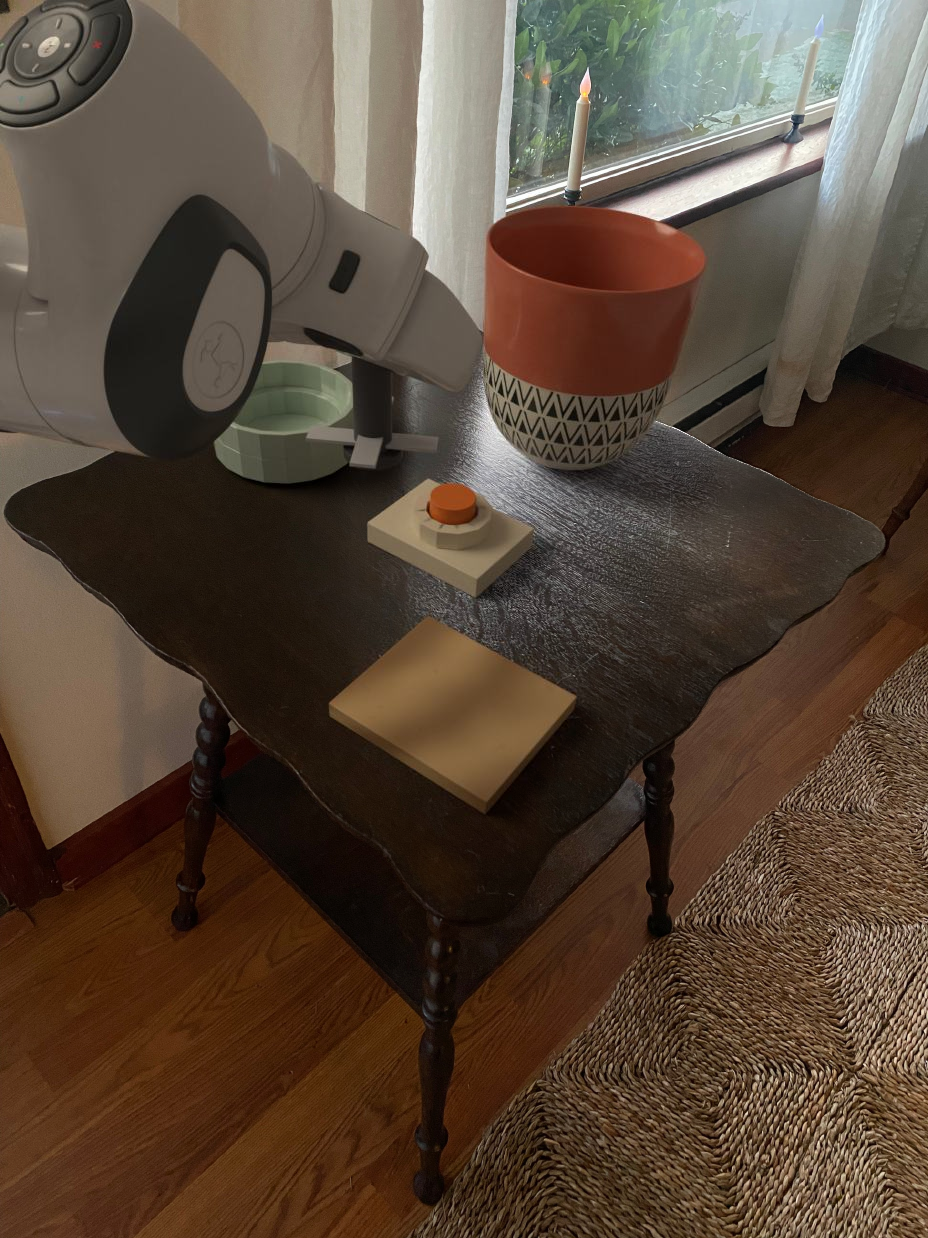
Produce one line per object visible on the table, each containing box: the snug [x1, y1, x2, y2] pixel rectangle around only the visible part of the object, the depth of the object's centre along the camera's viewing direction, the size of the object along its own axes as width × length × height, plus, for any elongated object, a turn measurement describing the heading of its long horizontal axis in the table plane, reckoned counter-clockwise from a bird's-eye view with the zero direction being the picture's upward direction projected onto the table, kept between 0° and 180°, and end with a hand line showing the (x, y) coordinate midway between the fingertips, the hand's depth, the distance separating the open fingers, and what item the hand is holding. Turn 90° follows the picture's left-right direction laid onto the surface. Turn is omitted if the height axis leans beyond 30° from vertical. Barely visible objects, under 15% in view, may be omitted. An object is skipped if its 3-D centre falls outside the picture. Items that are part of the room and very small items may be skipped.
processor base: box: [366, 478, 535, 599], centre depth 80 cm, size 12×9×4 cm
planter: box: [482, 205, 708, 471], centre depth 86 cm, size 20×20×21 cm
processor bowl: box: [212, 359, 354, 484], centre depth 89 cm, size 14×14×6 cm
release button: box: [430, 482, 476, 526], centre depth 78 cm, size 4×4×2 cm
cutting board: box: [328, 615, 578, 815], centre depth 66 cm, size 14×12×2 cm
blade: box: [306, 355, 440, 471], centre depth 63 cm, size 10×10×12 cm
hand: (377, 354), depth 62 cm, fingers closed on blade, 3 cm apart
